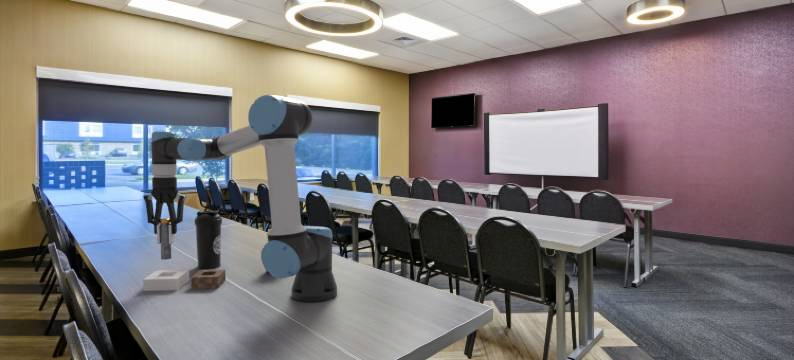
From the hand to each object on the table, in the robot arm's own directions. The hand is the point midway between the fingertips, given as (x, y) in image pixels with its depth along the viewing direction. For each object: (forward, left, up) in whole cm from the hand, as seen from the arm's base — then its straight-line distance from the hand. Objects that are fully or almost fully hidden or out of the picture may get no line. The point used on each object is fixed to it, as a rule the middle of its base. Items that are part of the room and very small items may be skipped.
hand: (165, 242), depth 147 cm
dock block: (0, 0, -15) cm, 15 cm away
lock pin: (0, 0, -6) cm, 6 cm away
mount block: (-14, 0, -15) cm, 21 cm away
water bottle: (-7, -24, -15) cm, 29 cm away
